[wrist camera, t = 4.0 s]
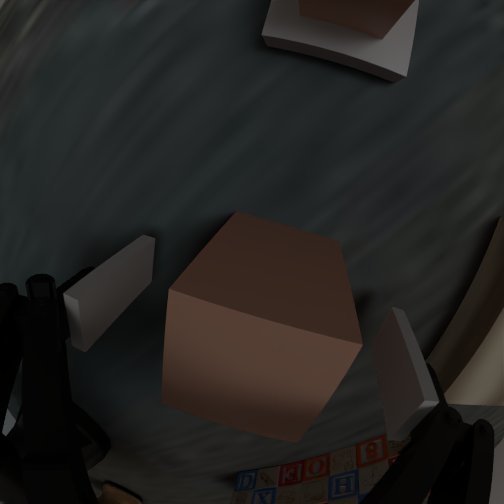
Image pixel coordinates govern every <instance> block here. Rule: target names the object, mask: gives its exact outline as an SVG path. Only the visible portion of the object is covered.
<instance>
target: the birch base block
mask: <svg viewBox="0 0 504 504" xmlns="http://www.w3.org/2000/svg"><path fill="white" fill-rule="evenodd" d="M425 363H429V364H430V365H431V366H432V368H433V369H434V370H435V372H436V375H437V377H438V380H439V383H440V387H441V388H442V391H443V393H444V396H445V399H446V402H447V403H451V404H468V405H504V218H502V217H501V216H500V218H499V221H498V224H497V227H496V229H495V232H494V234H493V237H492V239H491V242H490V244H489V247H488V249H487V251H486V254H485V256H484V258H483V260H482V263H481V265H480V267H479V269H478V271H477V273H476V275H475V278H474V280H473V282H472V284H471V286H470V288H469V290H468V291H467V293H466V295H465V297H464V299H463V301H462V303H461V305H460V306H459V308H458V310H457V312H456V314H455V315H454V317H453V319H452V320H451V322H450V324H449V325H448V327H447V329H446V330H445V332H444V334H443V335H442V337H441V338H440V340H439V342H438V343H437V345H436V346H435V348H434V349H433V351H432V352H431V354H430V355H429V357H428V358H427V360H426V361H425Z"/></svg>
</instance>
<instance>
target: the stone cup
mask: <svg viewBox="0 0 504 504" xmlns="http://www.w3.org/2000/svg"><path fill="white" fill-rule="evenodd" d="M97 500H98V502H99V504H142V502H141V501H140V500H139V499H138V498H137V497H135V496H133V495H132V494H130V493H128V492H126V491H125V490H123V489H121V488H119V487H117V486H114V485H112V484H109V483H106V484H104V486H103V493H102V495H101V496H100V497H99V498H98V499H97Z"/></svg>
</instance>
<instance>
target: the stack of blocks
mask: <svg viewBox="0 0 504 504" xmlns="http://www.w3.org/2000/svg"><path fill="white" fill-rule="evenodd" d="M410 441H411V436H410V434H408V435H407V436H406V437H405V438H404V439H403V440H402V441H396V440H388V438H387V434H386V435H382V436H380V437H377V438H374V439H371V440H369V441H366V442H363V443H360V444H357V445H354V446H351V447H347V448H344V449H341V450H338V451H334V452H331V453H329V454H325V455H323V456H319V457H315V458H311V459H307V460H305V461H299V462H295V463H291V464H286V465H282V466H275V467H270V468H264V469H259V470H251V471H244V472H239V473H238V477H237V481H236V484H235V488H234V493H233V495H232V499H231V502H230V504H359V503H360V502H361V500H362V499H363V498H364V497H365V496H366V495H367V494H368V493H369V492H370V490H371V489H372V488H373V487H374V486H375V485H376V483H377V482H378V481H379V480H380V479H381V477H382V476H383V475H384V474H385V473H386V471H387V470H388V469H389V467H390V466H391V465H392V464H393V462H394V461H395V460H396V458H397V457H398V456H399V454H398V452H399V451H400V450H401V449H402V448H403V447H404V446H405V445H406V444H407V443H409V442H410ZM430 491H431V490H430ZM430 491H429V493H428V495H427V496H426V498H425V500H424V501H423V503H422V504H427V501H428V497H429V494H430Z"/></svg>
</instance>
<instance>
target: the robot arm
mask: <svg viewBox="0 0 504 504" xmlns="http://www.w3.org/2000/svg"><path fill="white" fill-rule="evenodd" d="M154 248H155V238H153V237H150V236H146V235H142V236H141V237H139V238H138V239H136V240H135V241H133V242H132V243H130V244H129V245H128V246H126V247H125V248H123V249H122V250H120V251H119V252H118V253H116V254H115V255H113V256H112V257H111V258H109V259H108V260H107V261H105V262H104V263H102V264H101V265H100V266H98V267H97V268H95V267H92V266H91V267H88V268H85V269H82V270H81V271H80V272H78V273H77V274H76V275H75V276H73V277H71V278H70V280H67V281H66V282H65V283H63V284H62V285H61V286H59V287H58V288H57V289H56V286H55V280H54V278H53V277H52V276H50V275H48V274H36V275H34V276H31V277H30V278H29V279H27V281H26V283H25V284H26V290H27V295H28V297H26V296H22V295H19V294H18V289H17V286H16V285H14V284H12V283H2V284H0V504H99V502H98V500H97V497H96V495H95V493H94V491H93V489H92V486H91V483H90V480H89V477H88V473H87V471H88V470H90V469H91V468H92V467H93V466H95V465H96V464H97V463H99V462H100V461H101V460H103V459H104V458H105V456H106V454H107V453H108V451H109V449H110V447H111V446H110V442H109V440H108V438H107V437H106V435H105V434H104V433H103V431H102V430H101V429H100V428H99V427H98V426H97V425H96V424H95V423H94V422H93V421H92V420H91V419H90V418H89V417H88V416H87V415H86V414H85V413H84V412H82V411H81V410H80V409H79V408H78V407H77V406H75V405H74V404H73V403H72V398H71V391H70V383H69V374H68V364H67V352H66V343H65V340H66V339H67V338H68V337H69V336H70V337H71V342H72V346H74V347H76V348H78V349H80V350H81V351H83V352H85V353H86V352H87V351H88V349H89V348H90V347H91V346H92V345H93V344H94V343H95V342H96V341H97V339H98V338H99V337H100V336H101V335H102V334H103V333H104V332H105V331H106V330H107V328H108V327H109V326H110V325H111V324H112V323H113V322H114V321H115V320H116V319H117V318H118V317H119V315H120V314H121V313H122V312H123V311H124V310H125V309H126V308H127V307H128V306H129V305H130V304H131V303H132V302H133V301H134V300H135V299H136V297H137V296H138V295H139V294H140V293H141V292H142V291H143V290H144V289H145V288H146V287H147V286H148V285H149V284H150V283H151V282H152V271H153V259H154ZM371 349H372V354H373V359H374V363H375V368H376V373H377V378H378V384H379V389H380V394H381V400H382V406H383V412H384V418H385V425H386V431H387V438H388V440H396V441H402V440H403V439H404V438H405V437H406V436H407V435H408V434H410V436H411V441H410V442H409V443H407V444H406V445H405V446H404V447H403V448H402V449H401V450H400V451H399V452H398V454H399V456H398V457H397V458H396V460H395V461H394V462H393V464H392V465H391V466H390V467H389V469H388V470H387V471H386V473H385V474H384V475H383V476H382V477H381V479H380V480H379V481H378V482H377V483H376V485H375V486H374V487H373V488H372V489H371V490H370V492H369V493H368V494H367V495H366V496H365V497H364V498H363V499H362V500H361V502H360V503H359V504H422V503H423V501H424V500H425V498H426V496H427V495H428V493H429V491H430V490H431V491H430V494H429V497H428V501H427V504H489V498H490V491H491V483H492V472H493V459H494V429H493V427H492V425H491V424H490V423H489V422H488V421H486V420H484V419H478V420H477V421H476V422H475V423H474V424H473V425H470V424H467V423H464V422H463V421H462V417H461V415H460V414H459V412H458V411H457V410H456V409H454V408H452V407H448V405H447V402H446V399H445V396H444V393H443V391H442V388H441V387H440V383H439V380H438V377H437V375H436V372H435V370H434V369H433V368H432V366H431V365H430V364H429V363H425V361H424V358H423V355H422V353H421V350H420V348H419V345H418V343H417V341H416V338H415V336H414V333H413V331H412V329H411V326H410V324H409V322H408V320H407V317H406V315H405V313H404V311H403V310H402V309H398V308H394V307H391V309H390V311H389V313H388V315H387V317H386V319H385V320H384V322H383V324H382V326H381V328H380V330H379V331H378V333H377V335H376V337H375V339H374V340H373V342H372V344H371ZM22 356H23V361H22V404H21V407H20V410H19V413H18V416H17V419H16V423H15V425H14V427H13V428H12V429H11V431H10V432H9V433H8V434H7V436H5V435H4V434H3V433H2V429H3V425H4V420H5V416H6V412H7V407H8V403H9V400H10V396H11V392H12V388H13V385H14V381H15V378H16V375H17V372H18V368H19V365H20V362H21V359H22Z"/></svg>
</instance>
